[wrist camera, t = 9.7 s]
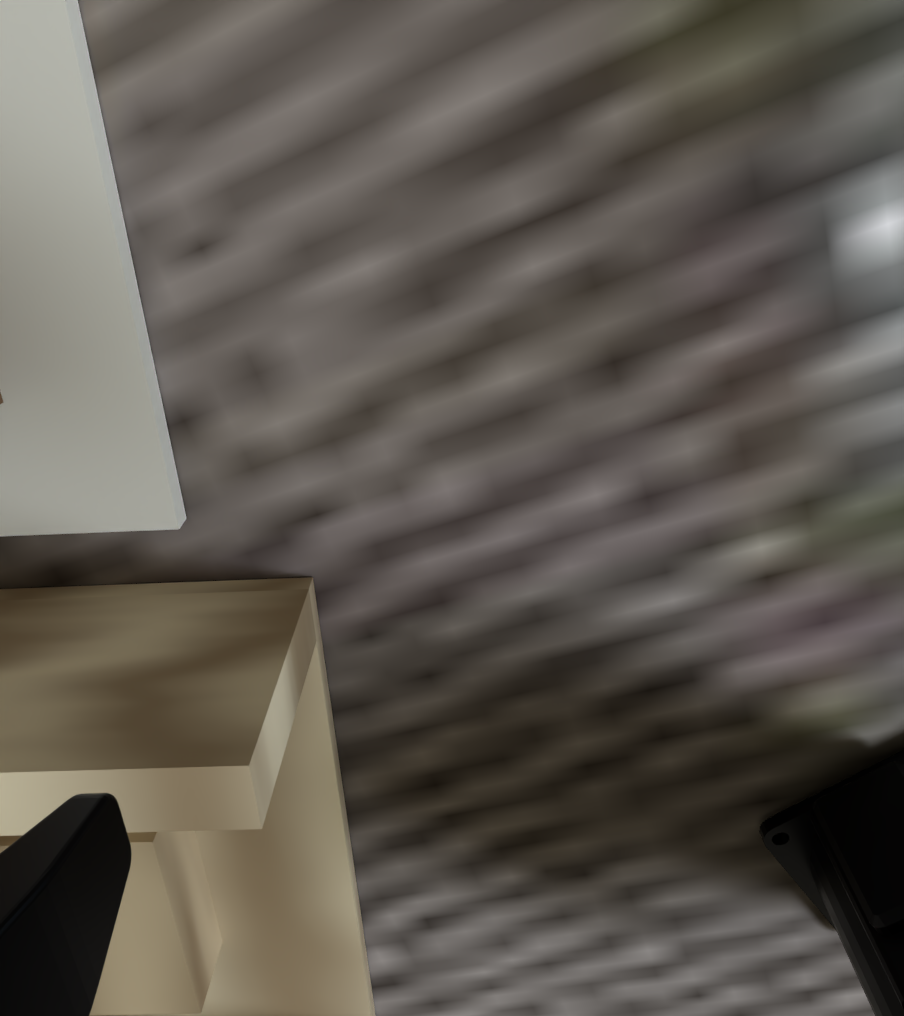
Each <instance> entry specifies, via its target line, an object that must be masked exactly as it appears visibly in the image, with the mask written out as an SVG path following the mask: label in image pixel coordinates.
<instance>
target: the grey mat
mask: <svg viewBox="0 0 904 1016" xmlns="http://www.w3.org/2000/svg"><path fill="white" fill-rule="evenodd" d="M0 392H1V395H2V399H3V402H4V403H2V404H0V536H24V535H48V534H73V533H98V532H123V531H148V530H173V529H180V527H181V526H182V524H183V523H184V522H185V520H186V519H187V518H186V513H185V509H184V504H183V499H182V494H181V490H180V485H179V480H178V475H177V471H176V466H175V461H174V456H173V452H172V447H171V442H170V437H169V433H168V428H167V423H166V418H165V414H164V409H163V404H162V399H161V395H160V390H159V385H158V380H157V376H156V371H155V366H154V361H153V357H152V352H151V347H150V342H149V338H148V333H147V328H146V323H145V318H144V314H143V309H142V304H141V299H140V295H139V290H138V285H137V280H136V276H135V271H134V266H133V261H132V257H131V252H130V247H129V242H128V238H127V233H126V228H125V223H124V219H123V214H122V209H121V204H120V200H119V195H118V190H117V185H116V181H115V176H114V171H113V166H112V162H111V157H110V152H109V147H108V143H107V138H106V133H105V128H104V123H103V119H102V114H101V109H100V104H99V100H98V95H97V90H96V85H95V81H94V76H93V71H92V66H91V62H90V57H89V52H88V47H87V43H86V38H85V33H84V28H83V24H82V19H81V14H80V9H79V5H78V0H0Z"/></svg>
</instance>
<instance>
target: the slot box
mask: <svg viewBox="0 0 904 1016" xmlns="http://www.w3.org/2000/svg"><path fill="white" fill-rule="evenodd" d="M85 793H109V794H112V795H113V796H114V797H115V798H116V799H117V801H118V804H119V807H120V810H121V814H122V817H123V821H124V824H125V827H126V831H127V834H128V837H129V841H130V845H131V852H132V856H131V866H130V871H129V874H128V878H127V882H126V886H125V889H124V893H123V897H122V900H121V904H120V908H119V912H118V915H117V919H116V923H115V926H114V930H113V934H112V938H111V941H110V945H109V949H108V953H107V956H106V960H105V964H104V967H103V971H102V975H101V979H100V982H99V986H98V989H97V993H96V996H95V999H94V1003H93V1006H92V1009H91V1012H90V1015H89V1016H376V1015H375V1008H374V1001H373V994H372V987H371V980H370V973H369V966H368V960H367V953H366V946H365V939H364V932H363V925H362V918H361V911H360V904H359V897H358V890H357V883H356V876H355V869H354V862H353V855H352V848H351V841H350V834H349V827H348V820H347V813H346V806H345V799H344V792H343V785H342V778H341V771H340V764H339V757H338V750H337V743H336V736H335V729H334V722H333V715H332V708H331V701H330V694H329V687H328V680H327V673H326V666H325V659H324V652H323V645H322V638H321V631H320V624H319V617H318V610H317V603H316V596H315V589H314V582H313V577H308V578H282V579H255V580H229V581H202V582H176V583H149V584H123V585H96V586H70V587H43V588H17V589H0V853H1V852H2V851H4V850H5V849H6V848H7V847H9V846H10V845H11V844H12V843H14V842H15V841H16V840H17V839H19V838H20V837H21V836H23V835H24V834H25V833H26V832H28V831H29V830H30V829H31V828H33V827H34V826H35V825H36V824H38V823H39V822H40V821H41V820H43V819H44V818H45V817H47V816H48V815H49V814H50V813H52V812H53V811H54V810H55V809H57V808H58V807H59V806H60V805H62V804H63V803H64V802H65V801H67V800H68V799H70V798H71V797H73V796H75V795H77V794H85Z"/></svg>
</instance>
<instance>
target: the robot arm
mask: <svg viewBox="0 0 904 1016" xmlns="http://www.w3.org/2000/svg"><path fill="white" fill-rule="evenodd" d="M759 832H760V834H761V837H762V839H763V842H764V844H765V846H766V847H767V849H768V850H769V851H770V852H771V853H772V854H773V856H774V857H775V858H776V859H777V860H778V862H779V863H780V864H781V865H782V866H783V867H784V869H785V870H786V871H787V872H788V873H789V875H790V876H791V877H792V878H793V879H794V881H795V882H796V883H797V884H798V885H799V886H800V888H801V889H802V890H803V891H804V892H805V894H806V895H807V896H808V897H809V898H810V900H811V901H812V902H813V903H814V904H815V905H816V907H817V908H818V909H819V910H820V911H821V913H822V914H823V915H824V916H825V917H826V918H827V920H828V921H829V922H830V923H831V924H832V926H833V927H834V928H835V929H836V931H837V933H838V935H839V937H840V939H841V942H842V944H843V946H844V948H845V950H846V953H847V955H848V957H849V959H850V961H851V964H852V966H853V968H854V970H855V972H856V975H857V977H858V979H859V981H860V983H861V986H862V988H863V990H864V992H865V994H866V997H867V999H868V1001H869V1003H870V1005H871V1008H872V1010H873V1012H874V1014H875V1016H904V750H903V751H902V752H900V753H898V754H896V755H894V756H892V757H890V758H888V759H886V760H884V761H882V762H880V763H878V764H876V765H874V766H872V767H870V768H868V769H866V770H864V771H862V772H860V773H858V774H856V775H854V776H852V777H850V778H848V779H846V780H844V781H842V782H840V783H838V784H836V785H834V786H832V787H830V788H828V789H826V790H824V791H822V792H820V793H818V794H816V795H814V796H812V797H810V798H808V799H806V800H804V801H802V802H800V803H798V804H796V805H794V806H792V807H790V808H788V809H786V810H784V811H782V812H780V813H778V814H776V815H774V816H772V817H770V818H768V819H767V820H765V821H764V822H763V823H762V824H761V826H760V831H759ZM778 833H780V834H778ZM776 834H777V835H776ZM131 856H132V852H131V845H130V841H129V837H128V834H127V831H126V827H125V824H124V821H123V817H122V814H121V810H120V807H119V804H118V801H117V799H116V798H115V797H114V796H113V795H112V794H109V793H85V794H77V795H75V796H73V797H71V798H70V799H68V800H67V801H65V802H64V803H63V804H62V805H60V806H59V807H58V808H57V809H55V810H54V811H53V812H52V813H50V814H49V815H48V816H47V817H45V818H44V819H43V820H41V821H40V822H39V823H38V824H36V825H35V826H34V827H33V828H31V829H30V830H29V831H28V832H26V833H25V834H24V835H23V836H21V837H20V838H19V839H17V840H16V841H15V842H14V843H12V844H11V845H10V846H9V847H7V848H6V849H5V850H4V851H2V852H1V853H0V1016H89V1015H90V1012H91V1009H92V1006H93V1003H94V999H95V996H96V993H97V989H98V986H99V982H100V979H101V975H102V971H103V967H104V964H105V960H106V956H107V953H108V949H109V945H110V941H111V938H112V934H113V930H114V926H115V923H116V919H117V915H118V912H119V908H120V904H121V900H122V897H123V893H124V889H125V886H126V882H127V878H128V874H129V871H130V866H131Z"/></svg>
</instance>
